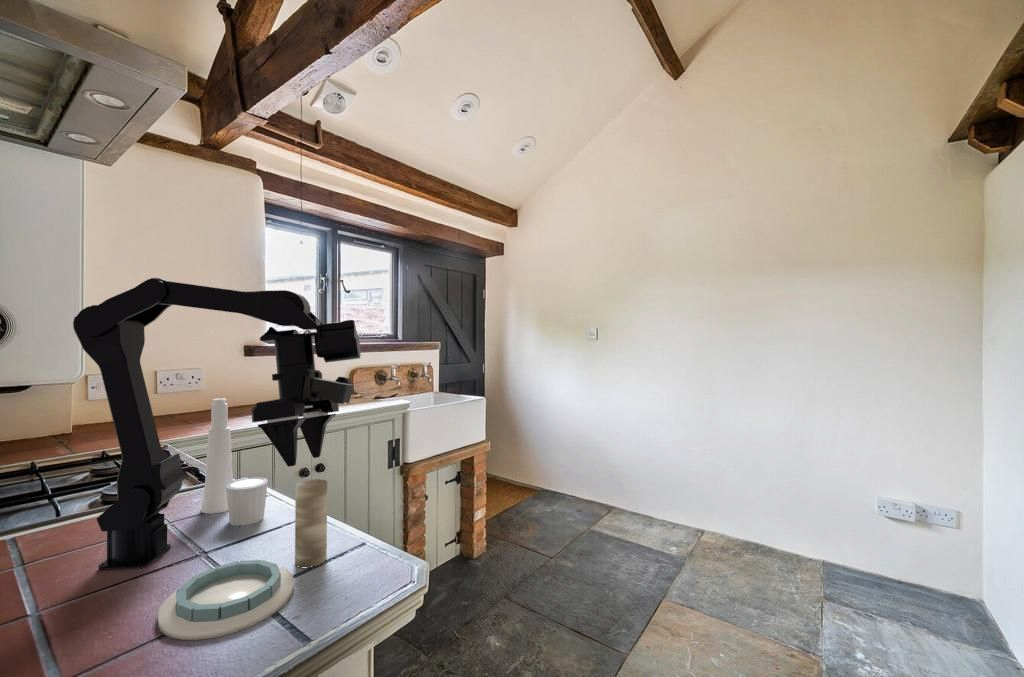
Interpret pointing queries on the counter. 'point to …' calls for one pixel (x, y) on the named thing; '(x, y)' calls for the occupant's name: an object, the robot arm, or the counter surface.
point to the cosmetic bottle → (218, 460)
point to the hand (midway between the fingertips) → (305, 461)
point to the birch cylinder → (311, 523)
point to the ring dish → (225, 600)
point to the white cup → (246, 500)
